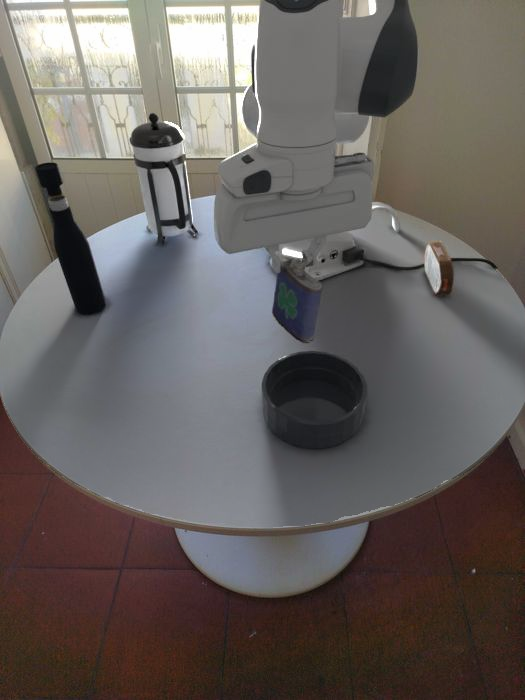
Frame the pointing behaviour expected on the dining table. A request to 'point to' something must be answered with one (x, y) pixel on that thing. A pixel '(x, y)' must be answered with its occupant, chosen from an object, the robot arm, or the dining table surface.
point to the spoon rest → (390, 210)
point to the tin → (438, 268)
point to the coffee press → (163, 178)
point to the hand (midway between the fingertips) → (294, 267)
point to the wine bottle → (71, 246)
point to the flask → (297, 300)
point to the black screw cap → (313, 399)
